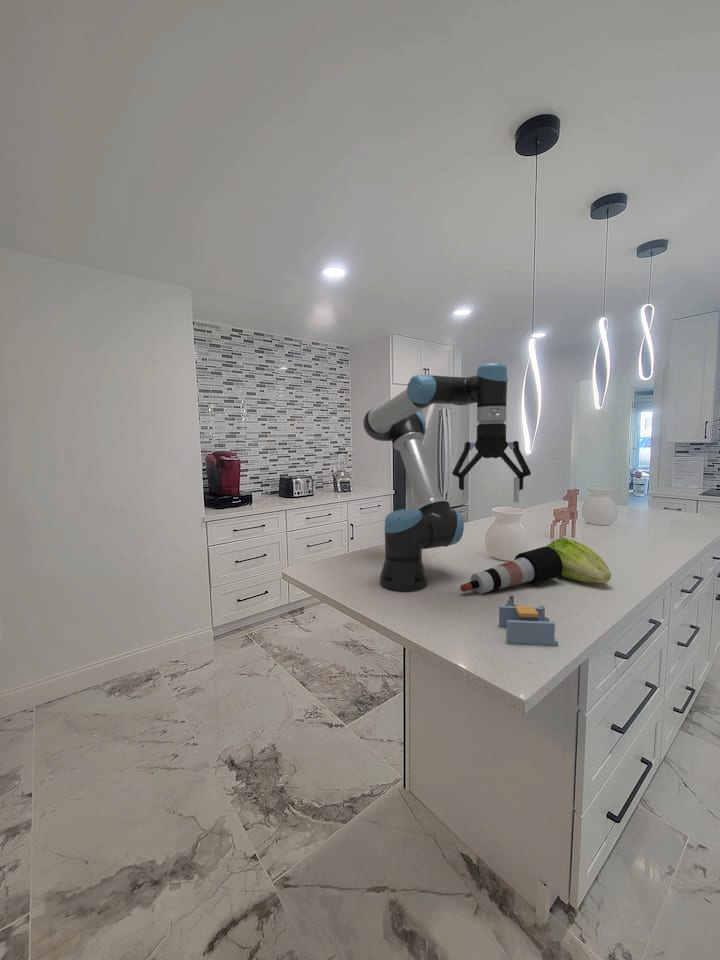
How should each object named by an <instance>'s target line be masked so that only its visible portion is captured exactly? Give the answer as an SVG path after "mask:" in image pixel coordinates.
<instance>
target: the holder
mask: <svg viewBox="0 0 720 960" xmlns="http://www.w3.org/2000/svg"><path fill="white" fill-rule="evenodd" d="M533 607H534V608H535V610H536V611H537V612H538V614H539V617H538V621H521V620H515V606H505V605H498V626H499V627H500V628H506V631H505V632H506V633H505V634H506V637H505V638H506V640H505V641H506V643H507V644H511V645H512V644H514V645H515V644H516V645H534V646H535V645H537V646H539V645H540V646H559V642H558V640H557V639H556V637H555V631H556V630H555V627H556V623H555V622H554V621H548V622H546V621H543V608H542V607H539V606H533Z"/></svg>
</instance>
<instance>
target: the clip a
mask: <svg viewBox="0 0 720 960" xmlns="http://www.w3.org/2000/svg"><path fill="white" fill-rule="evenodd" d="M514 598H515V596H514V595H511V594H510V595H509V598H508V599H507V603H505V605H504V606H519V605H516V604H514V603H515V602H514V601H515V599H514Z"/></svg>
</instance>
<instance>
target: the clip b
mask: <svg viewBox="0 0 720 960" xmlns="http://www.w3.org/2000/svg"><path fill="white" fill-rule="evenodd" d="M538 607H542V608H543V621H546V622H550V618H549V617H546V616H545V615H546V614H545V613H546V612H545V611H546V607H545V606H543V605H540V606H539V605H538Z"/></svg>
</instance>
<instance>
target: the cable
mask: <svg viewBox="0 0 720 960" xmlns="http://www.w3.org/2000/svg"><path fill="white" fill-rule="evenodd" d="M562 569H563V565H562V560H561V558H560V556H559V555H558V553H557V552H556V551H555V550H554V549H552V548H550V547H546V546H542V547H538V548H534V549H531V550H528V551H525V552H520V553H518V554H516V556H515V557H514V560H510V561H508V562H504V563H501V564H498V565H496V566H493V567H489V568H488V569H484V570H482V571H479V572H475V573H473V574H471V576H470V581H468V582H466V583H463V584H460V585H459V588H460V590H461V592H463V593H464V592H465V593H466V592H467V591H472V590H473V591H474V592H476V593H478V594H480V595H482V594H485V593H488V592H494V591H496V590H500V589H501V590H502V589H503V588H511V587H513V586H516V585H520V584H523V583H524V584H526V585H528V586H535V585H537V584H541V583H544V582H546V581H549V580H553V579H556V578H558V577H560V576H561V573H562Z"/></svg>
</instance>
